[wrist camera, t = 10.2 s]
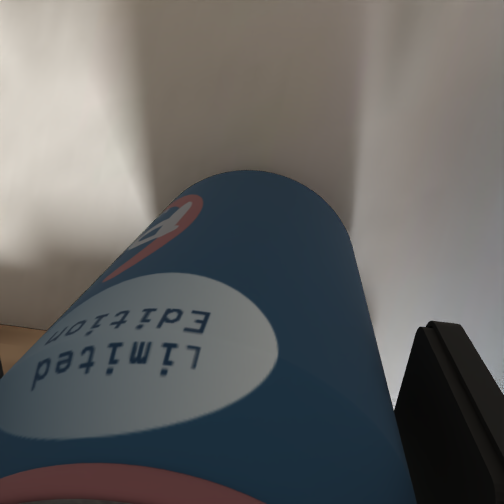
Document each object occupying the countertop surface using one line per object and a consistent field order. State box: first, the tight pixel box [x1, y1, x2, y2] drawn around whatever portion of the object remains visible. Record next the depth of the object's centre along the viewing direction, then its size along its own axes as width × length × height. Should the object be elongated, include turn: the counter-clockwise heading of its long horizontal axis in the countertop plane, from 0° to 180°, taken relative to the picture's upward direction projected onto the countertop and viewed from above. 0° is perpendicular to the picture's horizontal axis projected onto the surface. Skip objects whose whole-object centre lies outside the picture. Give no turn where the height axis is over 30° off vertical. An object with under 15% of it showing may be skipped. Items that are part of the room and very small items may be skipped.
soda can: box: [0, 170, 417, 504], centre depth 11 cm, size 7×7×12 cm
